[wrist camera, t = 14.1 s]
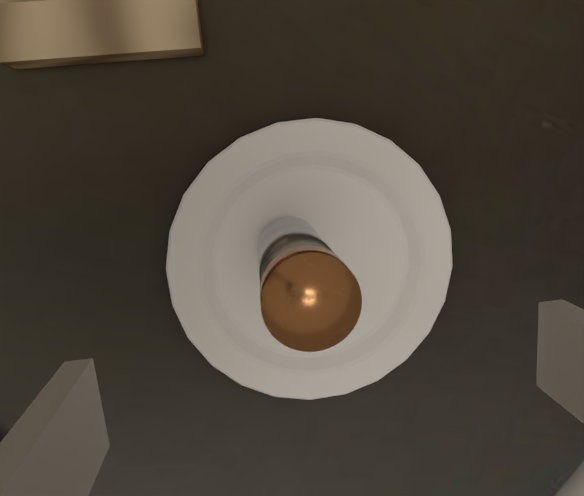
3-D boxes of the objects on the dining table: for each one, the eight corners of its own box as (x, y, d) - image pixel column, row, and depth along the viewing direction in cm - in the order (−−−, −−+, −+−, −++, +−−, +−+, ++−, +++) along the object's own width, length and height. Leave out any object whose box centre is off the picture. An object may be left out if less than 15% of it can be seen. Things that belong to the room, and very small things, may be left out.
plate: (498, 260, 38) (509, 266, 36) (306, 439, 39) (309, 452, 37) (315, 54, 33) (318, 49, 31) (107, 264, 35) (100, 270, 33)
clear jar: (259, 280, 34) (266, 357, 22) (253, 218, 33) (255, 259, 21) (322, 274, 35) (365, 345, 22) (317, 212, 34) (359, 248, 21)
